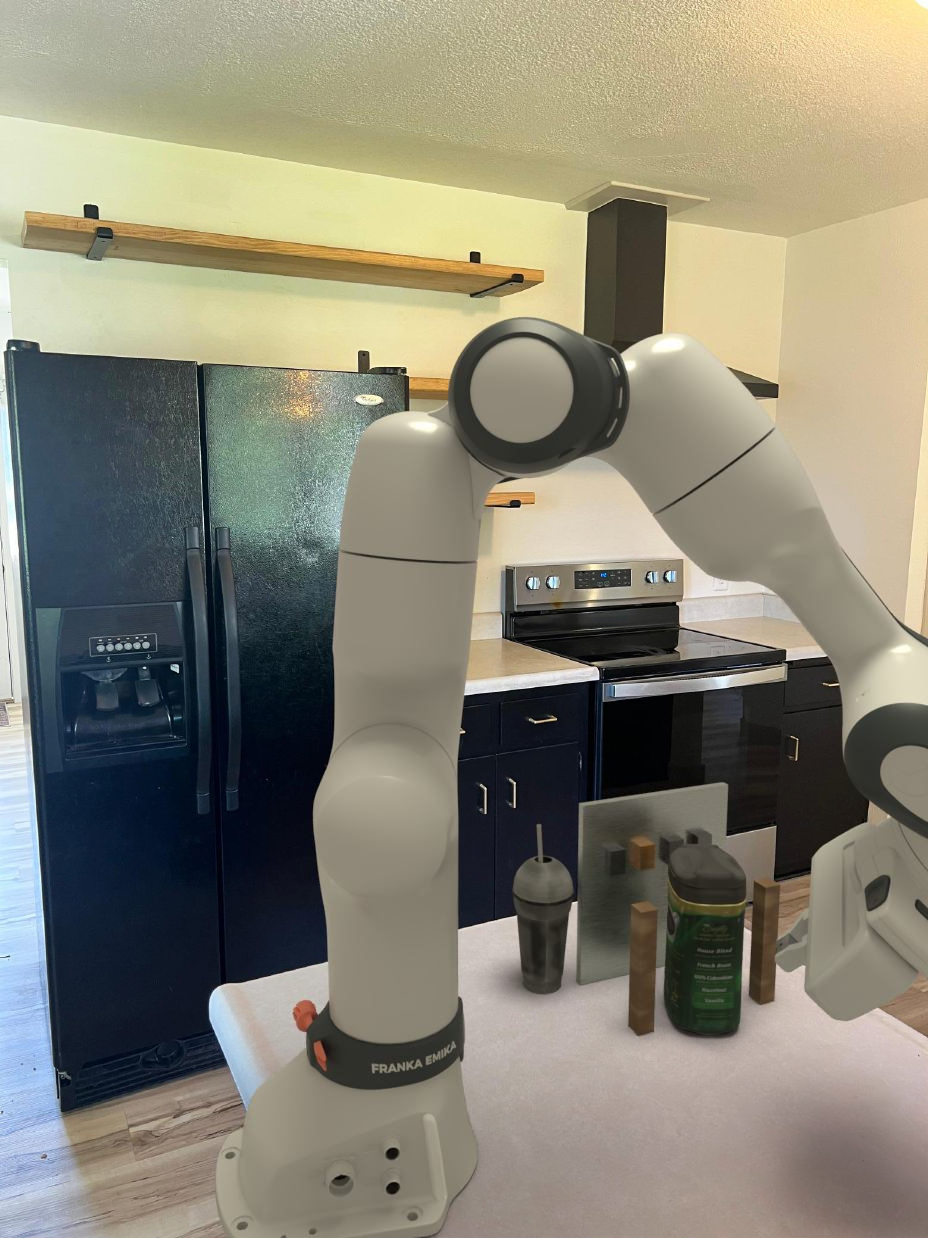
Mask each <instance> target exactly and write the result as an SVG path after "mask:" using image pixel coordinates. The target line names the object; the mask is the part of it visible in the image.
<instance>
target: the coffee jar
mask: <svg viewBox="0 0 928 1238" xmlns="http://www.w3.org/2000/svg"><path fill="white" fill-rule="evenodd" d="M668 865H669V866H668V906H667V930H666V954H665V966H664V973H663V974H664V977H663V998H664V1003H665V1007H666V1009H667V1012H668V1013H669V1016H670V1018H671V1020H672V1021H673V1023H674V1024H675V1025H676V1026H677V1027H679V1028H681V1029H684V1030H685V1031H686V1030H687V1031H691V1032H694V1033H697V1034H700V1035H711V1036H712V1035H721V1034H724V1033H729V1032H732V1031H734V1030H736V1029H737V1028H738V1027H739V1026H740V1024H741V1015H742V1014H741V1012H742V1011H741V1010H742V985H743V983H742V981H743V963H744V961H743V959H744V958H743V957H744V956H743V955H744V937H745V916H746V907H747V906H746V905H747V876H746V873H745V871H744V870H743V867H742V866H741V865H740V864H739V862H738V861H737V859H735V858H734V856H732V855H731V854H729V853H728V852H727V851H726V850H725V851H724V850H722V849H720V848H719V847H718V846H717V845H710V844H683V845H682V846H681V847H679V848H678V849H676V850H675V851H674V852H673V853H672V854H671V855H670V858H669V863H668Z"/></svg>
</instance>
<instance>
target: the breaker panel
mask: <svg viewBox="0 0 928 1238" xmlns="http://www.w3.org/2000/svg"><path fill="white" fill-rule="evenodd" d="M728 794H729V784H728V783H726V782H724V781H723V782H714V783H708V784H702V785H693V786H688V787H681V788H674V789H667V790H660V791H654V792H647V793H642V794H641V793H639V794H633V795H625V796H618V797H613V798H606V799H599V800H593V801H591V800H590V801H585V802H584V801H583V802H579V803H578V839H577V840H578V842H577V843H578V844H577V845H578V847H577V848H578V849H577V851H578V852H577V903H576V905H577V908H576V909H577V911H576V912H577V913H576V977H575V978H576V979H575V980H576V983H578V985H579V986H582V985H587V984H591V983H595V982H600V981H604V980H608V979H609V980H610V979H612V978H617V977H622V976H627V975H629V972H630V932H631V904H636V903H641V902H646V901H648V902H649V903H650V904H651V905H653V906H654V907H655V908H657V909H658V918H657V952H656V969H657V968H661V967H662V968H663V967H665V954H666V930H667V906H668V866H669V865H668V863H669V858H670V855H671V854H672V853H673V852H674V851H675V850H676V849H678V848H679V847H681V846H682V845H683V844H710V845H717V846H718V847H719V848H720V849H722V850H724V851H725V852H726V848H727V847H726V846H727V822H728V802H729V801H728V800H729V799H728V798H729V797H728Z"/></svg>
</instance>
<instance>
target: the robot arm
mask: <svg viewBox="0 0 928 1238" xmlns="http://www.w3.org/2000/svg"><path fill="white" fill-rule="evenodd" d="M354 452H355V454H354V456H353V457H354V458H353V461H352V463H351V468H350V472H349V476H348V481H347V486H346V491H345V496H344V501H343V502H344V503H343V507H342V508H343V509H342V515H341V523H340V533H339V545H338V546H339V547H338V549H339V550H338V560H337V575H336V589H335V591H336V592H335V603H334V604H335V605H334V621H333V622H334V623H333V635H332V636H333V637H332V654H333V669H334V672H333V673H334V677H333V678H334V727H333V729H334V730H333V741H332V748H331V752H330V756H329V760H328V764H327V766H326V768H325V769H326V770H325V771H324V774H323V775H322V778H321V780H320V783H319V786H318V787H317V790H316V793H315V797H314V800H313V808H312V809H313V810H312V817H313V818H312V822H313V823H312V824H313V836H314V843H315V844H314V845H315V852H316V863H317V871H318V878H319V879H318V880H319V884H320V885H319V887H320V892H321V897H322V903H323V906H324V907H323V908H324V914H325V923H326V924H325V925H326V936H327V938H326V939H327V971H328V1001H327V1003H326V1004H325V1006H324V1008H323V1009H322V1010H321V1011H320V1012H319V1013H318V1012H317V1009H316V1008H317V1007H316V1005H315V1003H314V1002H313V1001H311V1000H309V999H304V1000H300V1001H299V1002H297V1003H296V1004H295V1006H294V1007H293V1009H292V1016H293V1019H294V1021H295V1025H296V1028H297V1029H298V1031H300V1032H302V1033H306V1034H305V1046H306V1047H305V1048H304V1049H303V1050H301V1051H300V1052H299V1053H297V1055H296V1056H295V1057H293V1058H292V1059H291V1060H290V1061H288V1062H287V1063H286V1064H285V1065H283V1067H282V1068H280V1069H279V1070H278V1071H277V1072H276V1073H273V1075H272V1076H271V1077H269V1078H268V1079H267V1080H266V1081H264V1082H263V1083H262V1084H261V1085H259V1086H258V1087H257V1089H256V1090H255V1091H254V1093H253V1094H252V1096H251V1098H250V1100H249V1104H248V1105H247V1110H246V1113H245V1116H244V1117H245V1118H244V1122H243V1127H241V1128H239V1129H236V1130H235V1131H232V1133H230V1134H229V1135H228V1137H227V1138H226V1139H225V1141H224V1142H223V1144H222V1146H221V1149H220V1151H219V1153H218V1156H217V1160H216V1165H215V1176H214V1177H215V1179H214V1192H215V1193H214V1194H215V1203H216V1209H217V1214H218V1218H219V1220H220V1224H221V1228H222V1229H223V1231H224V1234H225V1235H226V1238H422V1237H429V1236H432V1235H434V1234H437V1233H438V1232H439V1231H440V1230H441V1229H442V1228H443V1226H444V1224H445V1221H446V1218H447V1215H448V1211H449V1208H450V1205H451V1203H452V1201H453V1200H454V1199H455V1198H456V1196H457V1195H458V1194H459V1193H460V1192H461V1191H462V1190H463V1189H464V1188H465V1186H466V1185H467V1184H468V1182H469V1181H470V1179H471V1178H472V1176H473V1174H474V1172H475V1169H476V1166H477V1164H478V1156H479V1146H478V1145H479V1144H478V1141H477V1137H476V1135H475V1131H474V1128H473V1126H472V1123H471V1119H470V1114H469V1111H468V1107H467V1106H468V1105H467V1101H466V1096H465V1095H466V1094H465V1090H464V1088H465V1087H464V1081H463V1074H462V1073H463V1071H462V1062H463V1060H464V1059H465V1058H464V1057H465V1056H464V1053H465V1043H466V1020H465V1015H464V1014H465V1013H464V1003H463V999H462V997H461V996H459V804H458V803H459V802H458V801H459V798H458V797H459V795H458V794H459V793H458V758H459V749H460V748H459V746H460V737H461V725H462V719H463V709H464V700H465V693H466V692H465V691H466V684H467V683H466V682H467V675H468V668H469V662H470V651H471V639H472V627H473V615H474V604H475V593H476V581H477V570H478V558H479V547H480V546H479V545H480V534H481V533H480V532H481V525H482V518H483V513H484V508H485V504H486V501H487V499H488V497H489V495H490V492H491V491H492V490H493V489H494V487H495V486H496V485H499V484H500V485H501V484H504V483H507V482H512V481H517V480H522V479H535V478H540V477H545V476H548V475H551V474H554V473H556V472H558V471H560V470H563V468H566V467H567V466H568V465H570V464H571V463H573V462H574V461H576V460H579V459H580V458H594V459H597V460H600V461H603V462H604V463H607V464H608V465H610V466H611V467H613V469H615V470H616V471H617V472H618V473H619V474H620V475H621V476H622V477H623V478H624V479H625V480H626V481H627V482H628V483H629V485H630V486H631V487H632V488H633V490H634V491H635V492H636V494H637V495H638V497H639V498H640V499H641V501H642V502H643V504H644V505H645V507H646V509H648V511H649V513H650V514H651V515H652V517H653V518H654V519H655V521H656V523H658V525H659V526H660V527H661V530H663V532H664V533H665V534H666V535H667V537H669V539H670V540H671V541H672V542H673V544H674V545H675V546H676V547H677V548H678V549H679V550H680V551H681V552H682V553H683V554H684V555H685V556H686V557H687V558H688V559H689V560H691V562H693V563H694V565H696V566H697V567H698V569H700V570H701V571H703V572H704V574H706V575H707V576H709V577H712V578H715V579H718V580H723V581H729V582H735V583H737V582H738V583H739V582H740V583H742V582H749V583H750V582H751V583H755V584H759V585H761V586H763V587H765V588H767V589H768V590H770V591H772V592H773V593H774V594H775V595H777V596H778V597H779V598H780V599H781V600H782V601H783V602H784V603H785V605H786V606H787V607H788V608H789V609H790V611H791V612H792V613H793V615H794V616H795V617H796V619H797V620H798V621H799V622H800V623H801V625H802V626H803V627H804V629H805V630H806V631H807V632H808V634H809V635H810V636H811V637H812V638H813V641H814V642H815V643H816V644H817V645H818V646H819V647H820V649H821V650H822V652H824V654H825V655H826V656H827V658H828V659H829V660H830V662H831V664H832V666H833V668H834V670H835V673H836V678H837V681H838V688H839V695H840V701H841V707H842V727H841V728H842V729H841V730H842V755H843V756H842V757H843V763H844V765H845V770H846V773H847V775H848V777H849V779H850V781H851V783H852V784H853V786H854V788H856V790H857V791H858V792H859V793H860V794H861V795H862V796H863V797H864V798H866V799H867V800H868V801H869V802H871V803H872V804H873V805H875V806H876V807H877V808H879V809H880V810H881V811H883V812H885V814H887V815H888V816H890V817H886V818H885V819H882V820H880V821H879V822H878V823H873V822H871V821H868V822H864V823H861V824H859V825H856V826H854V827H853V828H850V829H849V830H847V831H845V832H844V833H841V834H840V835H838V836H836V837H835V838H833V839H832V840H830V841H828V842H827V843H825V844H823V845H822V846H821V847H820V848H819V849H818V850H817V851H816V852H815V853H814V855H813V856H812V857H811V866H810V867H811V869H810V870H811V871H810V885H809V901H808V902H809V904H808V908H807V909H805V910H804V911H802V913H800V915H799V916H798V918H797V919H796V920H795V921H794V923H793V924H792V925H791V926H790V927H789V929H788V930H786V931H784V933H782V934H780V935H778V938H777V942H776V943H777V944H776V952H775V963H776V966H778V967H779V968H780V969H781V970H782V971H783V972H784V973H785V972H786V973H792V972H794V971H795V970H797V969H799V968H800V967H802V966H804V967H805V969H804V970H805V971H804V984H803V989H804V993H805V994H806V995H807V997H808V998H810V999H811V1000H812V1002H814V1003H815V1004H816V1005H817V1006H818V1008H820V1009H821V1010H822V1011H823V1012H824V1013H825V1014H826V1015H828V1016H829V1017H830V1018H831V1019H832V1020H836V1021H841V1022H851V1021H853V1020H856V1019H858V1018H860V1017H862V1016H864V1015H867V1014H868V1013H870V1012H873V1011H874V1010H876V1009H877V1008H880V1007H881V1006H883V1005H885V1004H887V1003H889V1002H891V1001H892V1000H895V999H896V998H898V997H900V996H901V995H902V994H904V993H905V992H906V991H908V989H910V988H911V987H912V986H913V985H914V983H915V982H916V981H917V979H918V977H919V974H921V975H923V977H924V978H926V979H928V637H926V636H924V635H922V634H920V633H918V632H917V631H915V630H913V629H912V628H910V627H909V626H907V625H906V624H905V623H903V622H902V621H900V620H899V619H898V618H897V617H896V616H895V615H894V613H892V612H891V610H890V609H889V607H887V605H886V604H885V602H884V601H883V600H882V599H881V597H880V596H879V595H878V594H877V592H876V591H875V589H874V588H873V587H872V586H871V585H870V583H869V582H868V580H867V579H866V578H865V577H864V575H863V574H862V572H861V571H860V570H859V569H858V568H857V566H856V565H855V563H854V562H853V561H852V559H851V558H850V557H849V555H848V554H847V553H846V551H845V550H844V549H843V548H842V546H841V545H840V543H839V541H838V540H837V538H836V535H835V534H834V531H833V529H832V527H831V525H830V523H829V521H828V520H829V519H828V518H827V515H826V513H825V511H824V509H823V505H822V504H821V501H820V499H819V497H818V495H817V492H816V490H815V488H814V486H813V484H812V481H811V480H810V478H809V476H808V474H807V472H806V470H805V468H804V466H803V465H802V463H801V460H799V457H798V456H797V454H796V452H795V451H794V449H793V447H792V446H791V444H790V443H789V441H788V440H787V439H786V437H785V436H784V435H783V432H782V430H780V428H779V427H778V426H777V425H776V423H775V422H774V420H773V419H772V418H771V416H770V415H769V414H768V412H767V411H766V410H765V409H764V408H763V406H762V404H761V403H760V402H759V401H758V400H757V398H755V396H754V395H753V394H752V393H751V391H750V390H749V389H748V388H747V387H746V385H744V384H743V383H742V382H741V380H740V379H739V378H738V377H737V376H736V375H735V374H734V373H733V372H732V370H730V369H729V368H728V367H727V366H726V364H724V363H723V362H722V361H721V360H720V359H719V358H718V357H717V356H716V355H715V354H714V353H713V352H712V351H711V350H710V349H709V348H707V347H706V346H705V345H704V344H703V343H702V342H700V341H699V340H698V339H696V338H695V337H693V336H691V335H689V334H686V333H682V332H665V333H660V334H659V333H658V334H656V335H652V336H649V337H646V338H644V339H643V340H639V341H638V342H636V343H634V344H632V345H631V346H629V347H628V348H627V349H625V350H624V351H623V352H621V353H620V352H619V351H618V350H617V349H616V348H615V347H613V346H611V345H609V344H606V343H605V342H601V341H599V340H596V339H595V338H592V337H589V336H586V335H585V334H582V333H579V332H578V331H575V329H571V328H569V327H567V326H565V325H563V324H560V323H557V322H555V321H551V320H548V319H543V318H539V317H533V316H532V317H531V316H519V317H511V318H506V319H503V320H500V321H498V322H495V323H493V324H491V325H489V326H487V327H485V328H484V329H482V330H481V331H480V332H479V333H477V334H476V335H475V336H474V337H473V338H471V339H470V341H469V342H468V343H467V344H466V345H465V346H464V348H462V351H461V352H460V353H459V355H458V357H457V359H456V361H455V363H454V366H453V368H452V371H451V374H450V378H449V382H448V388H447V402H446V403H445V404H444V405H443V406H441V407H440V408H437V409H435V410H429V411H419V410H418V411H417V410H409V411H407V410H406V411H400V412H395V413H392V414H389V415H385V416H383V417H380V418H379V419H376V420H375V421H374V422H372V423H370V425H368V426H367V427H366V428H365V429H364V431H362V434H361V435H360V438H359V440H358V442H357V446H356V450H355V451H354Z"/></svg>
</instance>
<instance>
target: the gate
mask: <svg viewBox="0 0 928 1238" xmlns="http://www.w3.org/2000/svg"><path fill="white" fill-rule="evenodd" d="M752 894H753V895H752V909H751V910H752V913H751V914H752V916H751V933H750V934H751V935H750V937H751V938H750V952H749V953H750V957H749V976H748V977H749V978H748V996H749V997H750V998H751V999H753V1000H754V1001H755V1002H757V1003H758V1004H759V1005H764V1004H768V1003H771V1002H772V1003H773V1002H775V998H776V997H775V996H776V995H775V994H776V980H777V979H776V976H777V974H776V973H777V964H776V963H775V952H776V944H777V943H776V942H777V938H778V937H779V918H780V917H779V915H780V901H781V900H780V899H781V898H780V897H781V883H778V882H777V881H775V880H773V879H771V878H770V877H764V878H759V879H755V880H753V891H752ZM657 918H658V909H657V908H655V907H654V906H653V905H651V904H650V903H649V902H648V901H646V902H641V903H636V904H631V932H630V972H629V974H628V975H629V976H628V977H629V978H628V979H629V982H628V1013H627V1015H628V1016H627V1017H628V1019H627V1020H628V1021H627V1022H628V1025H627V1027H629V1029H631V1030H632V1032H633V1033H634V1034H635V1035H637V1036H638V1037H640V1036H644V1035H647V1034H651V1033H654V1032H655V1019H656V1018H655V1017H656V1016H655V1013H656V1011H655V1010H656V987H657V986H656V983H657V980H656V977H657V968H656V952H657ZM767 1002H768V1003H767ZM763 1003H764V1004H763Z"/></svg>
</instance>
